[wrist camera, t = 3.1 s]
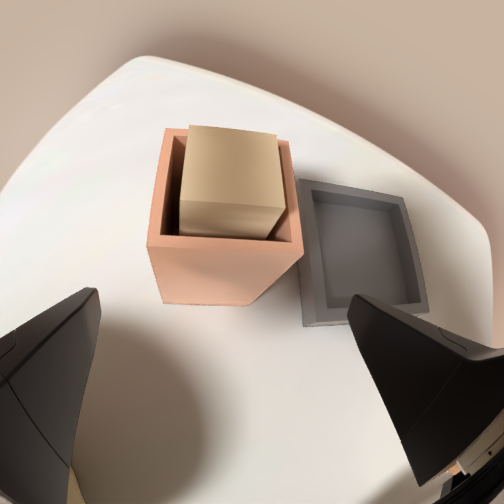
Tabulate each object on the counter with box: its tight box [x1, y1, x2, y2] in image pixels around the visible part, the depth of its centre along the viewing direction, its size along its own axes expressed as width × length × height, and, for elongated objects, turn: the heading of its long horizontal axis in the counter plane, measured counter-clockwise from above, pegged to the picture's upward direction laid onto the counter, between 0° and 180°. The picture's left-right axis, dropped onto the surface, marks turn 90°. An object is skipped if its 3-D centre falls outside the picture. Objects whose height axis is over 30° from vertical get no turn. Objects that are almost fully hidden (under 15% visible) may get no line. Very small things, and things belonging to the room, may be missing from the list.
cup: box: [146, 128, 304, 306], centre depth 18 cm, size 6×6×11 cm
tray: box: [295, 179, 429, 327], centre depth 25 cm, size 12×12×2 cm
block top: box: [179, 125, 285, 241], centre depth 13 cm, size 4×4×4 cm
